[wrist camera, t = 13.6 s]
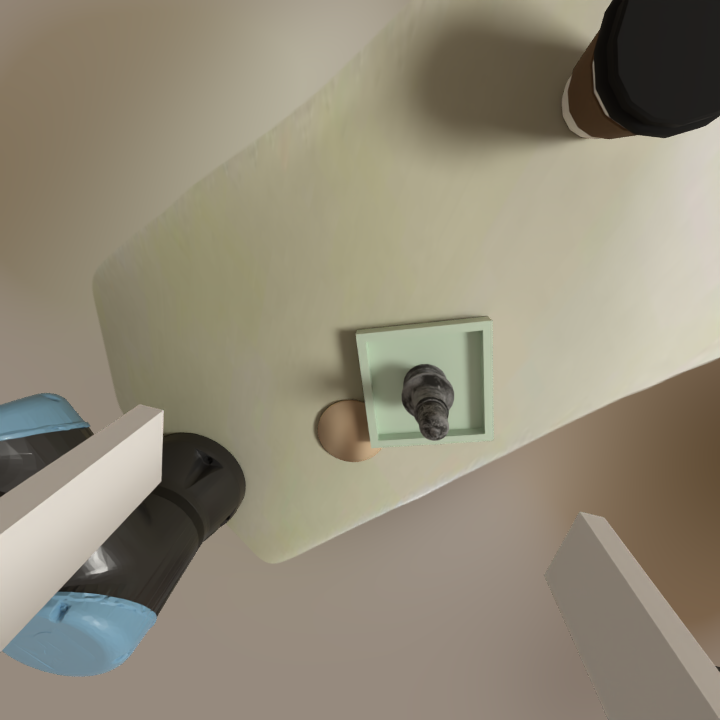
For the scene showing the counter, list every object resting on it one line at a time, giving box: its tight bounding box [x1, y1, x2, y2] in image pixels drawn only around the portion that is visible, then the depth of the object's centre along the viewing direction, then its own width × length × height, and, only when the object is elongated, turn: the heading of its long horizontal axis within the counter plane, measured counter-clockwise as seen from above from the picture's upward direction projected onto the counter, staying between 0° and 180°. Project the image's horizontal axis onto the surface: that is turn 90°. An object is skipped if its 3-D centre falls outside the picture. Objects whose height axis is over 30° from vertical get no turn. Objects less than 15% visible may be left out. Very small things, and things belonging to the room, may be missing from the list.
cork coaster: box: [318, 400, 381, 462], centre depth 47 cm, size 9×9×1 cm
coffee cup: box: [562, 0, 720, 139], centre depth 27 cm, size 11×11×12 cm
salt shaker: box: [401, 364, 454, 441], centre depth 37 cm, size 6×6×12 cm
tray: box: [356, 316, 494, 448], centre depth 43 cm, size 15×15×2 cm
